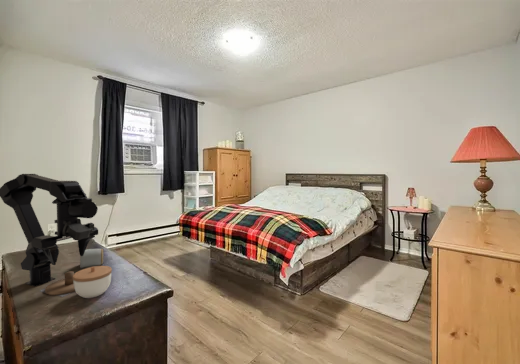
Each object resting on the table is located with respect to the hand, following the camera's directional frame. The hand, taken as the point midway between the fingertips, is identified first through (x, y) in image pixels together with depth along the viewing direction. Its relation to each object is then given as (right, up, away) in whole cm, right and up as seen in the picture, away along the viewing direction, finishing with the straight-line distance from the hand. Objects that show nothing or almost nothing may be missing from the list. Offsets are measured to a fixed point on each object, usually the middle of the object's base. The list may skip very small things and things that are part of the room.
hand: (68, 260), depth 86 cm
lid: (0, -9, 0) cm, 9 cm away
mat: (0, -10, 0) cm, 10 cm away
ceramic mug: (-6, -9, +21) cm, 23 cm away
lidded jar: (+12, -10, -5) cm, 17 cm away
